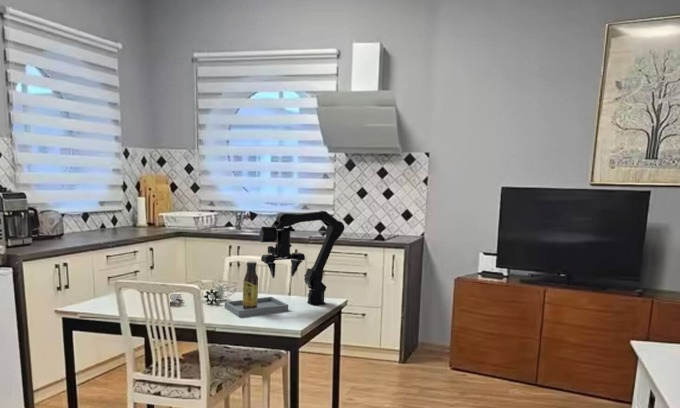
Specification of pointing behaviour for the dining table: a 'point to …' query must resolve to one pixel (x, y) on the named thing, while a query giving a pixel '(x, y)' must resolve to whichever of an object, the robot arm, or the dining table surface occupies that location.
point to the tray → (263, 307)
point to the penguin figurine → (175, 297)
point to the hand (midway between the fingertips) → (283, 277)
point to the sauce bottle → (250, 286)
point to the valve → (215, 294)
